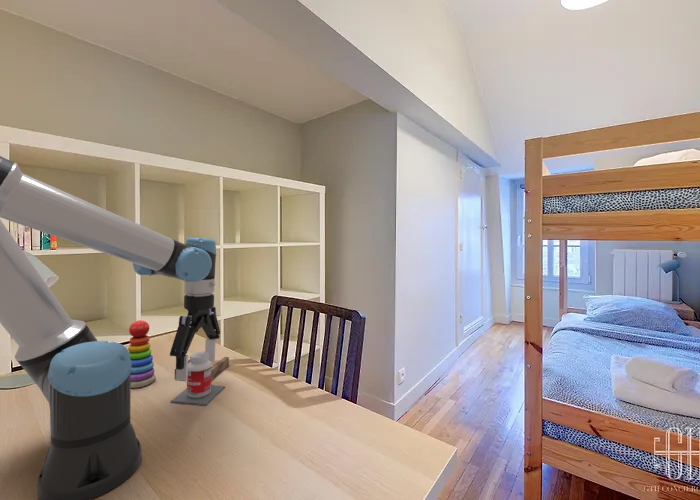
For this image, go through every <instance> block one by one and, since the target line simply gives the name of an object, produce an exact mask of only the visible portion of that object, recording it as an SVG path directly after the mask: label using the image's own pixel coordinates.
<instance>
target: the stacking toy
mask: <svg viewBox="0 0 700 500" xmlns="http://www.w3.org/2000/svg"><path fill="white" fill-rule="evenodd" d="M128 331H129V334H130V335H131V337H130V339H129V340H128V341H129V346H128V347H127V349H128V351H129V354H130V360H131V364H132V367H131V389H136V388H142V387H146V386H148V385H150V384H152V383H153V382H154V381H155V380H156V378H157V377H156V373H155V368H154V365H155V362H154V361H153V359H154V358H153V355H152V349H151V348H150V347H151V343H149V342H150V336H149V335H147V334H148V333H149V331H150V324H149V323H148V322H147V321H145V320H140V319H139V320H135V321H134V322H132V323H131V324H130V326H129V328H128Z"/></svg>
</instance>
